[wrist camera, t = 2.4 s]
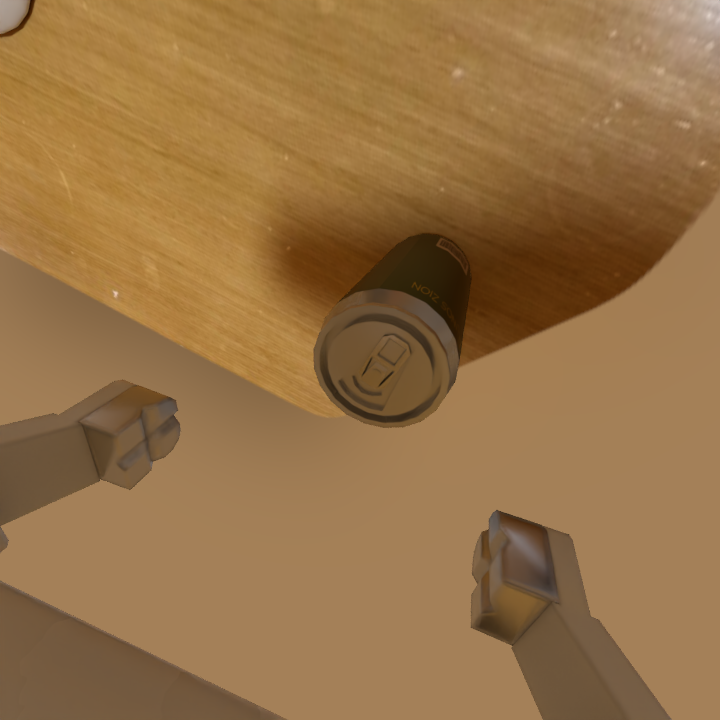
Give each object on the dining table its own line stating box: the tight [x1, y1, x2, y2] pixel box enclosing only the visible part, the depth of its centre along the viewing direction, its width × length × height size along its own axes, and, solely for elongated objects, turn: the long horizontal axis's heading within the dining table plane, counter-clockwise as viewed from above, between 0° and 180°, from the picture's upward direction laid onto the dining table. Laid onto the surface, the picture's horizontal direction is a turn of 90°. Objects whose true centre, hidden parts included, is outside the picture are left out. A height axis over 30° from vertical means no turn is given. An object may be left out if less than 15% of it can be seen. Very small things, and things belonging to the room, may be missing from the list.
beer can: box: [314, 234, 471, 428], centre depth 18 cm, size 5×5×12 cm
